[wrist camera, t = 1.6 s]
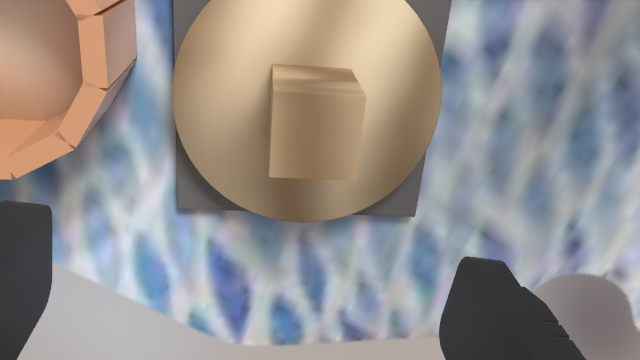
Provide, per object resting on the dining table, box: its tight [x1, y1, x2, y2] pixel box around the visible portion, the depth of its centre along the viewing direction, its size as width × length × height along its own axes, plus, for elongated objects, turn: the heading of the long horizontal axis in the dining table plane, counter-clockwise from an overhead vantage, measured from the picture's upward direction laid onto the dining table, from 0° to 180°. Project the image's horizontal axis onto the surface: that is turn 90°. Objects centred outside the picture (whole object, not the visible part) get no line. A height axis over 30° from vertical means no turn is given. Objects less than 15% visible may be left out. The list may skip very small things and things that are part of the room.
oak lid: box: [172, 0, 441, 222], centre depth 28 cm, size 14×14×6 cm
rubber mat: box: [173, 0, 452, 217], centre depth 31 cm, size 14×14×1 cm
